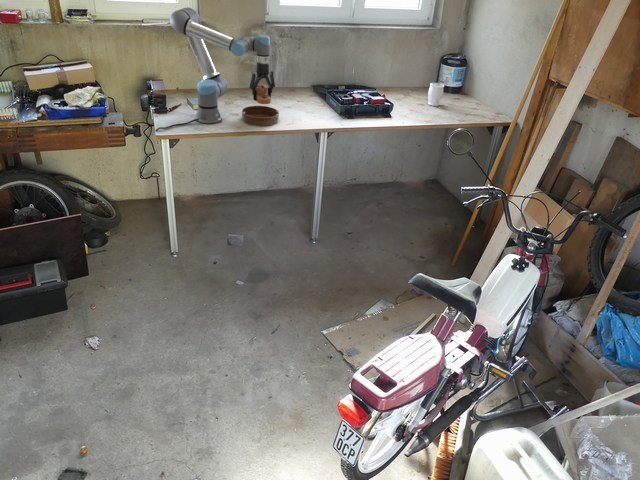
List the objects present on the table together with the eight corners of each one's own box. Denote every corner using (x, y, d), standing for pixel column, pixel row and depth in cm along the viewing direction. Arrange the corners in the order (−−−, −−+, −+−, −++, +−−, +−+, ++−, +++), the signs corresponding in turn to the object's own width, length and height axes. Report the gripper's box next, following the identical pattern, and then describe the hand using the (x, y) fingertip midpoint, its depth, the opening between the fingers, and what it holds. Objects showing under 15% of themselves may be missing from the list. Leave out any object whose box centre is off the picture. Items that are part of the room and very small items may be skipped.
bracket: (252, 95, 336) (252, 84, 332) (265, 94, 338) (265, 84, 335) (258, 104, 322) (259, 93, 318) (272, 104, 324) (272, 92, 320)
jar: (425, 105, 391) (429, 85, 383) (426, 101, 400) (430, 81, 392) (440, 107, 389) (444, 87, 381) (440, 103, 398) (444, 83, 390)
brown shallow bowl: (252, 128, 323) (252, 119, 320) (235, 116, 339) (235, 108, 336) (285, 123, 335) (285, 115, 332) (267, 112, 350) (267, 104, 347)
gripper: (249, 65, 310) (249, 102, 322) (281, 62, 321) (280, 99, 333) (243, 62, 315) (243, 99, 327) (275, 59, 326) (274, 95, 338)
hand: (262, 99), depth 330 cm, fingers closed on bracket, 9 cm apart
